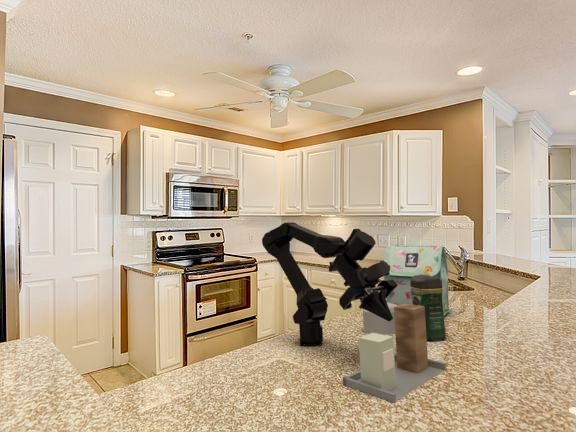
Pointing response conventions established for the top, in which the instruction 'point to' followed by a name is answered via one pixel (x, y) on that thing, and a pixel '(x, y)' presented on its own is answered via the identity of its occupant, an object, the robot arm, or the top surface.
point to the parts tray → (397, 381)
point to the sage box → (377, 360)
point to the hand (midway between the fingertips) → (391, 320)
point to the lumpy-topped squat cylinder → (379, 322)
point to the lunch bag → (415, 270)
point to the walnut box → (411, 337)
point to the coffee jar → (430, 304)
